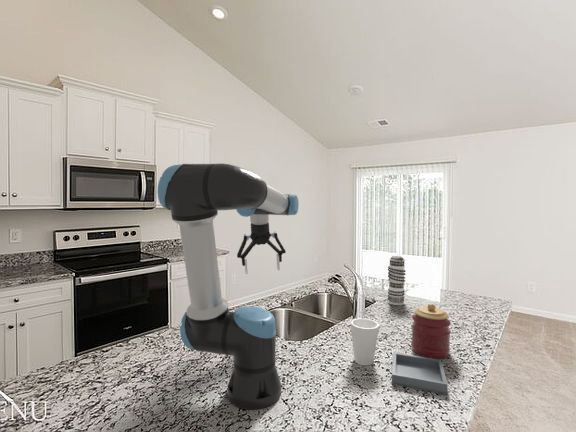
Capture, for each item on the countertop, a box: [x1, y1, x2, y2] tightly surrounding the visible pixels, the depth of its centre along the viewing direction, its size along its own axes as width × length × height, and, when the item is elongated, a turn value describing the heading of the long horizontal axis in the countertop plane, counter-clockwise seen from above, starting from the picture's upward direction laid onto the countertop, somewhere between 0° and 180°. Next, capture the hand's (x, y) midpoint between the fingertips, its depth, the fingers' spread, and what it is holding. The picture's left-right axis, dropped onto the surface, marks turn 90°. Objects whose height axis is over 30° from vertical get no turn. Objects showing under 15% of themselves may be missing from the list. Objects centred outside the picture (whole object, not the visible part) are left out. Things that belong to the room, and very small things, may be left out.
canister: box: [410, 303, 452, 360], centre depth 118 cm, size 13×13×18 cm
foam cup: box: [350, 317, 380, 366], centre depth 110 cm, size 10×9×13 cm
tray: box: [391, 352, 448, 396], centre depth 101 cm, size 15×15×3 cm
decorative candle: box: [387, 255, 406, 306], centre depth 174 cm, size 9×9×25 cm
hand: (262, 270), depth 137 cm, fingers open, 13 cm apart
